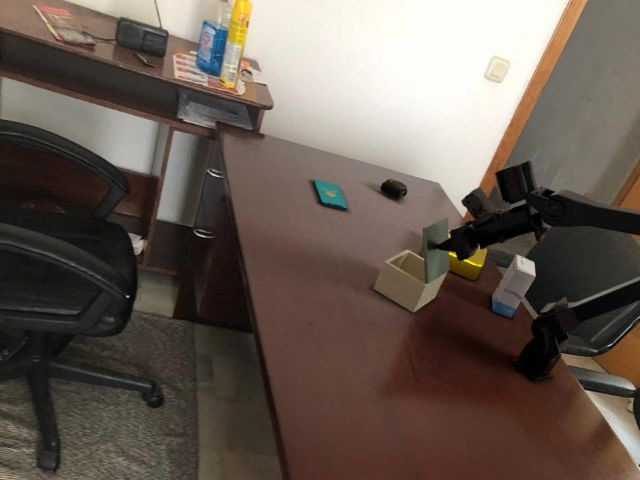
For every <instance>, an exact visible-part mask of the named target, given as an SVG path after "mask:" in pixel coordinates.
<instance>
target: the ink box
mask: <svg viewBox="0 0 640 480" xmlns="http://www.w3.org/2000/svg"><path fill="white" fill-rule="evenodd" d="M536 275H537V274H536V265H535V262H534V261H533V260H530V259H528V258H526V257H524V256H523V255H522V256H521V255H519V254H515V256H514V257H513V259H512V261H511V263H510V265H509V266H508V268H507V270H506V272H505V273H504V274H503V277H502V279H501V280H500V282H499V283H498V285H497V287H496V289H495V290H494V292H493V294H492V298H491V299H492V301H491V303H492V304H491V305H492V309H491V311H492V312H493V313H494V312H495V313H497V314H499V315H502V316H504V317H507V318H509V319H511V318H512V316H513V315H514V313H515V312H516V310H517V309H518V307H519V305H520V304H521V302H522V300H523V298H524V296H525V295H526V293H527V291H528V290H529V288H530V287H531V285H532V283H533V282H534V280H535V278H536Z"/></svg>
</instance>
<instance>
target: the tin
mask: <svg viewBox="0 0 640 480" xmlns="http://www.w3.org/2000/svg"><path fill="white" fill-rule="evenodd" d="M447 273H448V272H446V273H445V274H443V275H442V276H440V277H439V278H437V279H435V280H434V281H432V282H431V283H429V284H425V269H424V259H423V258H422V256H420V255H418V254H416V253H414V252H413V251H411V250H410V249H406V250H404V251H402V252H400V253H398V254H395V255H393V256H392V257H390V258H388V259H386V260H384V262H383V264H382V266H381V269H380V271H379V274H378V275H377V279H376V281H375V284H374V285H373V290H375V291H377V292H378V293H380V294H381V295H383V296H385V297H387V298H388V299H390V300H391V301H393V302H395V303H396V304H398V305H399V306H401V307H403V308H405V309H407V310H408V311H410V312H411V313H413V314H414V313H415V312H417V311H418V310H419V309H421V308H422V307H424V306H425V305H427V304H428V303H430V302H432V301H433V300H434V299H435V298H436V296H437V294H438V292H439V290H440V288H441V286H442V284H443V282H444V279H445V277H446V276H447Z"/></svg>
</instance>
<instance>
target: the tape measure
mask: <svg viewBox="0 0 640 480" xmlns="http://www.w3.org/2000/svg"><path fill="white" fill-rule="evenodd" d="M380 191H381V192H383V193H384V194H386V195H387V196H388V197H390V198H393V199H394V200H396V201H400V200H403V199H404V198H405V197H406V196H407V195H408V186H407V185H406V184H405V183H404V182H402V181H399V180H397V179H394V178H392V179H391V178H389V179H386V180H385V181H383V182H382V183H381V184H380Z"/></svg>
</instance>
